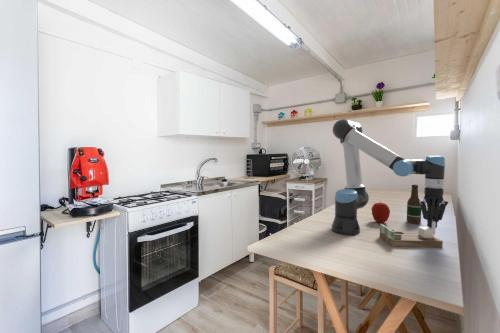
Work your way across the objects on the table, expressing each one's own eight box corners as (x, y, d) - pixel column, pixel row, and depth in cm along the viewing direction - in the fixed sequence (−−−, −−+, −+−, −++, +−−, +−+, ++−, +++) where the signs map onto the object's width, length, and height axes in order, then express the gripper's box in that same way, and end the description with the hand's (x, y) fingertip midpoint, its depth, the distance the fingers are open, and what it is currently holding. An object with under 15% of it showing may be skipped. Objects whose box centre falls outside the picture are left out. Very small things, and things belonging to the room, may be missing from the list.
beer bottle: (419, 224, 148) (420, 186, 147) (404, 222, 154) (405, 184, 153) (422, 222, 154) (424, 184, 152) (408, 219, 159) (409, 183, 158)
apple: (391, 222, 154) (392, 200, 153) (386, 225, 147) (386, 203, 146) (374, 219, 162) (375, 198, 161) (368, 222, 155) (369, 200, 154)
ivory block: (418, 234, 124) (418, 226, 123) (427, 234, 123) (427, 226, 123) (423, 237, 119) (424, 229, 119) (433, 237, 119) (433, 229, 119)
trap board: (379, 236, 129) (379, 223, 129) (424, 237, 128) (425, 224, 127) (392, 246, 116) (392, 232, 116) (442, 247, 115) (443, 232, 114)
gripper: (425, 188, 116) (423, 236, 118) (453, 188, 115) (451, 236, 117) (415, 185, 124) (413, 230, 125) (442, 185, 123) (439, 231, 125)
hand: (431, 233), depth 121 cm, fingers closed
